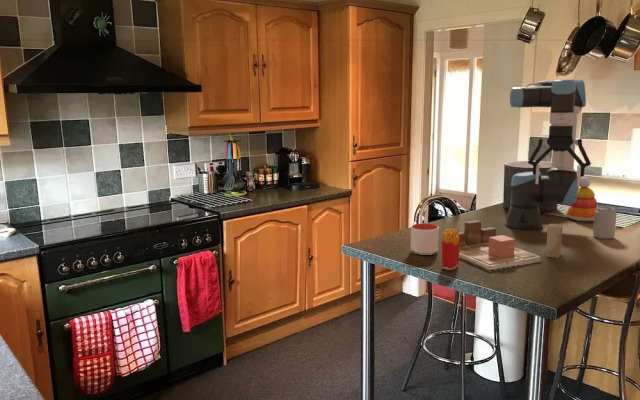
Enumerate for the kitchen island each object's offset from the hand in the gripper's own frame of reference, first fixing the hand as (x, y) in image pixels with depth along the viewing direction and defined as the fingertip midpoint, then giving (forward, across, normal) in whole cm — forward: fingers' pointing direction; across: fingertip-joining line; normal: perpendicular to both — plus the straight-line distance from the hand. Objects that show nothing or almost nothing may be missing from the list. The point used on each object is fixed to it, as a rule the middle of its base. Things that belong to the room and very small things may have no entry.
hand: (557, 184), depth 185 cm
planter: (+25, -15, +71) cm, 77 cm away
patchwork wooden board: (+23, -20, -16) cm, 35 cm away
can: (+25, +17, +25) cm, 39 cm away
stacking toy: (+25, +9, +55) cm, 61 cm away
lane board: (+24, -19, -17) cm, 35 cm away
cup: (+25, -42, -21) cm, 53 cm away
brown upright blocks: (+23, -20, -16) cm, 35 cm away
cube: (+22, -15, -20) cm, 34 cm away
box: (+25, 0, -7) cm, 26 cm away
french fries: (+25, -30, -34) cm, 51 cm away
